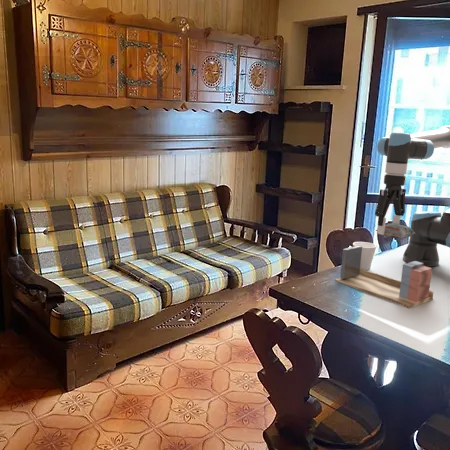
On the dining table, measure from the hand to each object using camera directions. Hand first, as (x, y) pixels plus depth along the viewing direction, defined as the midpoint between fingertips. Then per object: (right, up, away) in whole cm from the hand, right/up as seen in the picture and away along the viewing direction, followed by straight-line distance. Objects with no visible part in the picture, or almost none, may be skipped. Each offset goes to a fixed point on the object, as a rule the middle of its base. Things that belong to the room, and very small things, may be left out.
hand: (387, 232), depth 182 cm
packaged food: (-1, -3, 0) cm, 3 cm away
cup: (-4, -16, +20) cm, 26 cm away
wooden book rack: (-4, -21, -5) cm, 22 cm away
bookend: (-13, -18, +5) cm, 23 cm away
